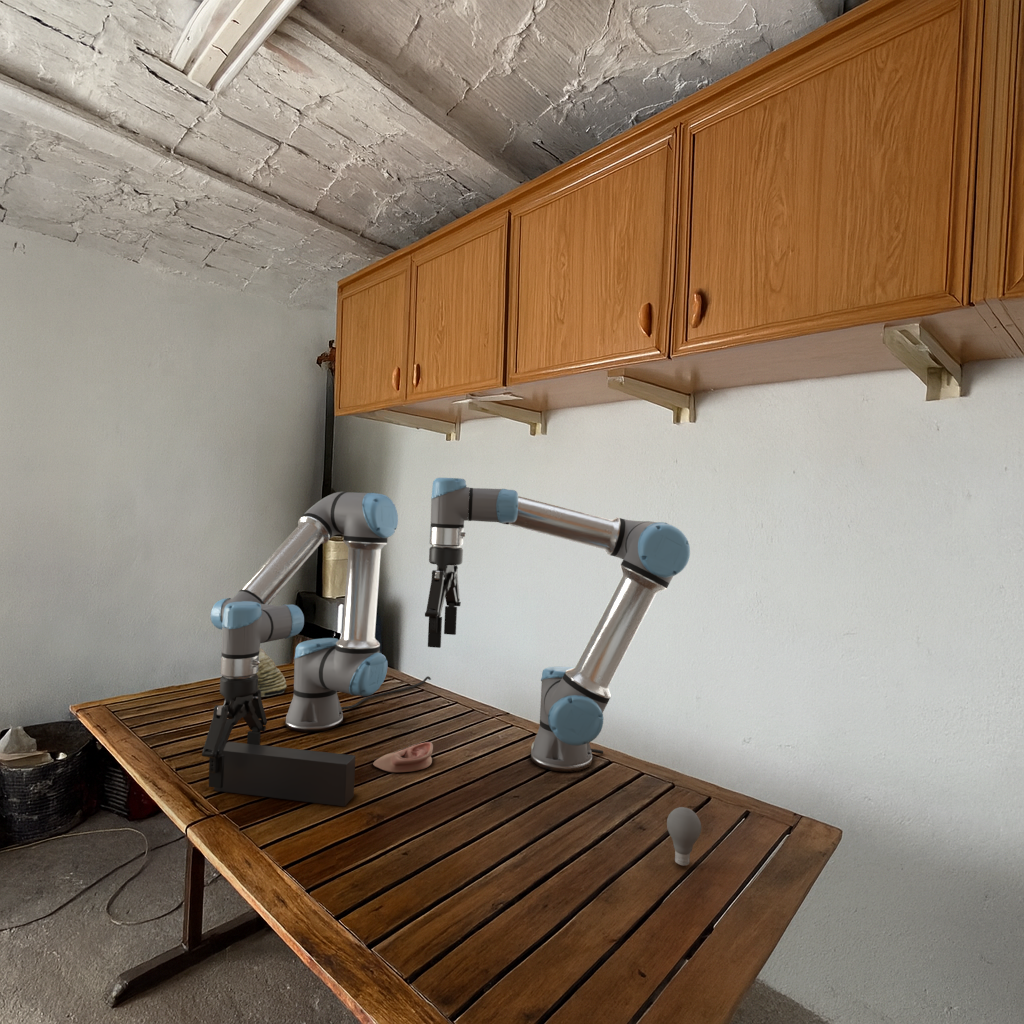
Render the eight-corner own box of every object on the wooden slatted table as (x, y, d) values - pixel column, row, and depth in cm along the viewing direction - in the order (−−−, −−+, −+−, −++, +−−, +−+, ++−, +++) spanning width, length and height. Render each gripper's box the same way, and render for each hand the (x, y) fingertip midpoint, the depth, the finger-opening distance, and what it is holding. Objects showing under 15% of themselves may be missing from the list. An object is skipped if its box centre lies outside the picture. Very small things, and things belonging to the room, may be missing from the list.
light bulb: (660, 854, 117) (663, 800, 117) (692, 854, 117) (694, 801, 117) (671, 873, 111) (674, 817, 111) (704, 873, 111) (707, 817, 111)
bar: (214, 790, 134) (215, 749, 134) (227, 781, 139) (228, 741, 139) (344, 806, 130) (346, 764, 130) (353, 796, 135) (355, 755, 135)
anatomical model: (368, 752, 148) (387, 734, 159) (367, 769, 148) (386, 750, 159) (422, 759, 145) (438, 741, 156) (421, 776, 145) (437, 757, 156)
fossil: (218, 695, 195) (220, 647, 195) (278, 685, 208) (279, 640, 207) (228, 703, 189) (230, 653, 188) (289, 692, 201) (290, 645, 201)
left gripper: (220, 692, 123) (215, 801, 123) (285, 662, 148) (281, 753, 148) (185, 689, 124) (180, 797, 124) (255, 659, 149) (251, 749, 149)
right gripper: (448, 551, 130) (444, 654, 130) (474, 543, 154) (470, 630, 155) (413, 549, 131) (409, 651, 131) (444, 542, 155) (440, 628, 156)
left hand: (235, 773), depth 136 cm, fingers open, 13 cm apart
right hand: (442, 640), depth 143 cm, fingers open, 13 cm apart
